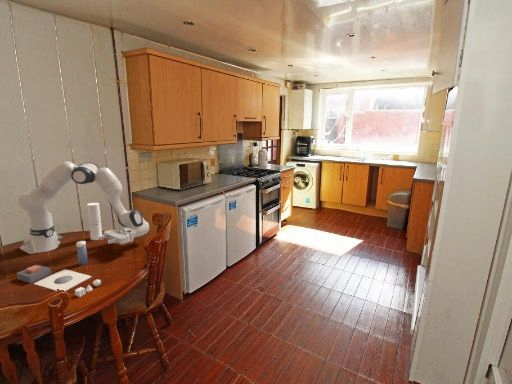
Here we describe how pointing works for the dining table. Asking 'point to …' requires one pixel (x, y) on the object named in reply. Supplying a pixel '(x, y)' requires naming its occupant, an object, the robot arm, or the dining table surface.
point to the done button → (33, 269)
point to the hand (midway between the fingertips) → (103, 240)
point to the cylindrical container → (94, 221)
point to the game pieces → (81, 290)
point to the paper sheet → (63, 280)
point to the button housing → (33, 274)
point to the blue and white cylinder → (82, 252)
